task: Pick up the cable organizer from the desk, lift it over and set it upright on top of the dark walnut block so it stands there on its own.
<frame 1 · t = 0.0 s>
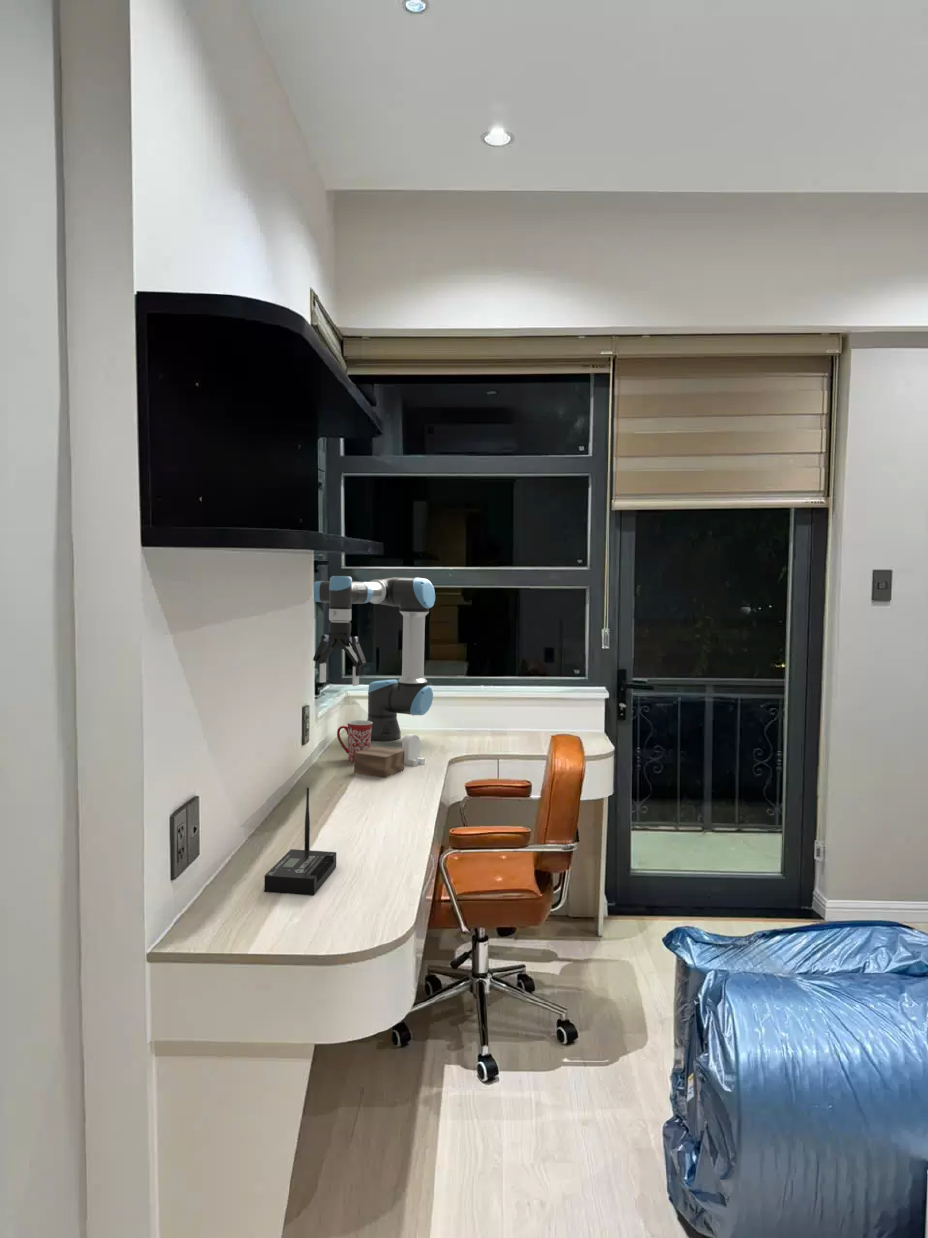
hand: (339, 684, 269), 28 cm above the table, tool pointing down, fingers open, 13 cm apart
cable organizer: (410, 763, 277), on the table
walnut block: (379, 772, 263), on the table
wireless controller: (304, 878, 170), on the table
mug: (354, 760, 279), on the table
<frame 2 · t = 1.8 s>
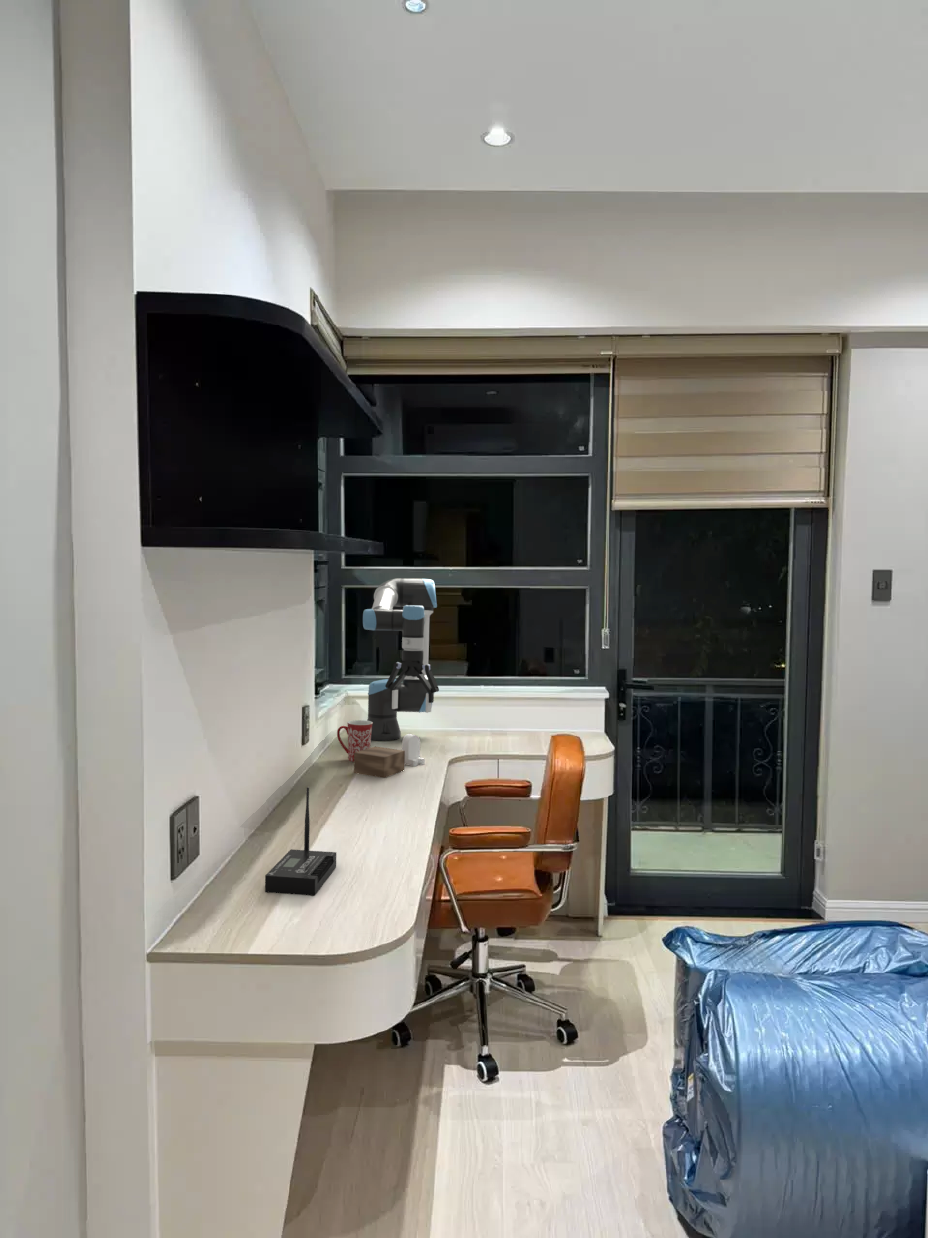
hand: (411, 710, 276), 18 cm above the table, tool pointing down, fingers open, 13 cm apart
nothing on the table moved.
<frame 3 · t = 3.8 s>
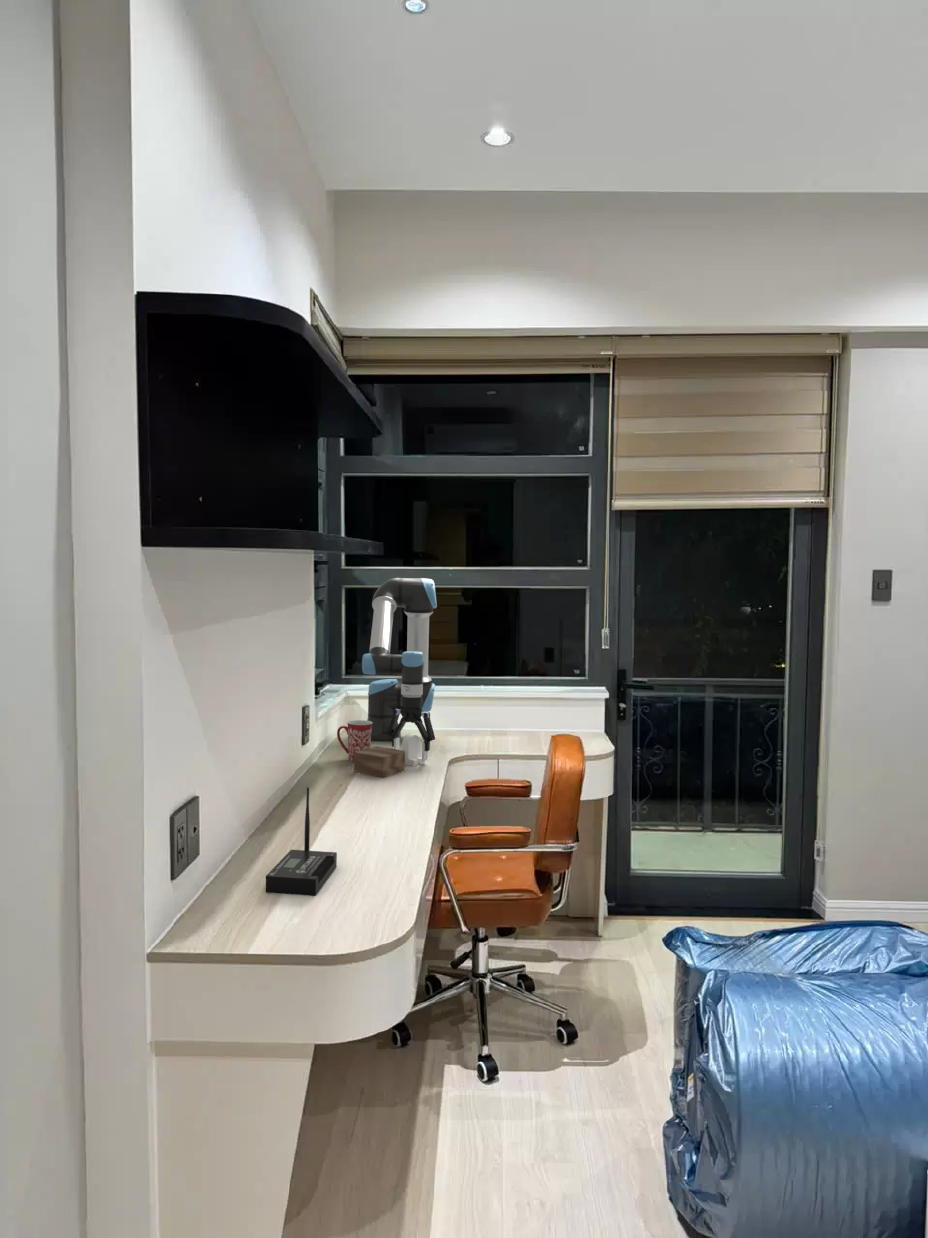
hand: (410, 758, 277), 1 cm above the table, tool pointing down, fingers closed on cable organizer, 11 cm apart
cable organizer: (410, 763, 277), on the table, touching gripper
everything else where it was.
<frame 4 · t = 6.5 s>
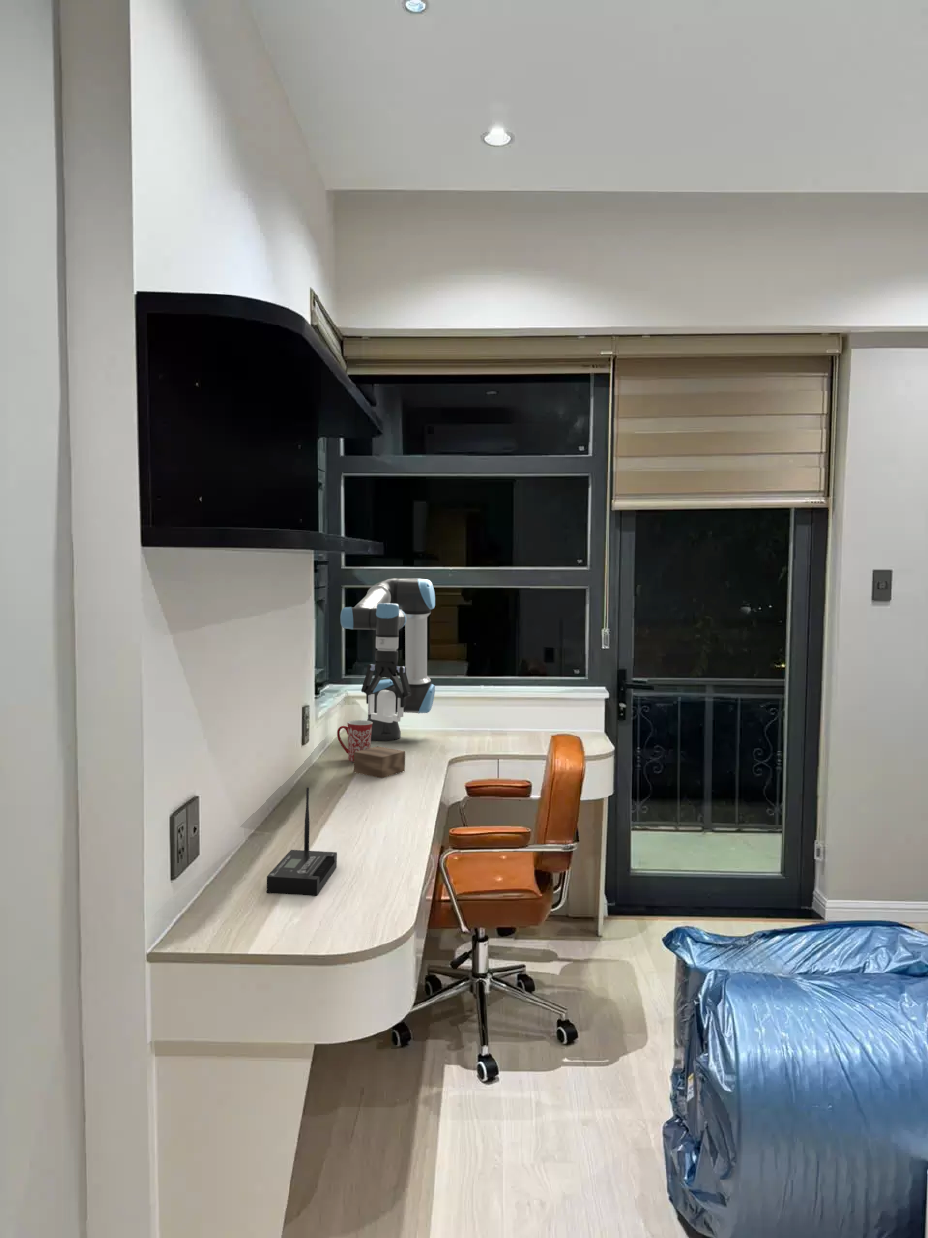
hand: (385, 715, 264), 19 cm above the table, tool pointing down, fingers closed on cable organizer, 11 cm apart
cable organizer: (385, 720, 264), point 17 cm above the table, touching gripper
everything else where it was.
when the fingers open (10 cm above the table, at t = 9.2 s): cable organizer drops 2 cm, resting on walnut block.
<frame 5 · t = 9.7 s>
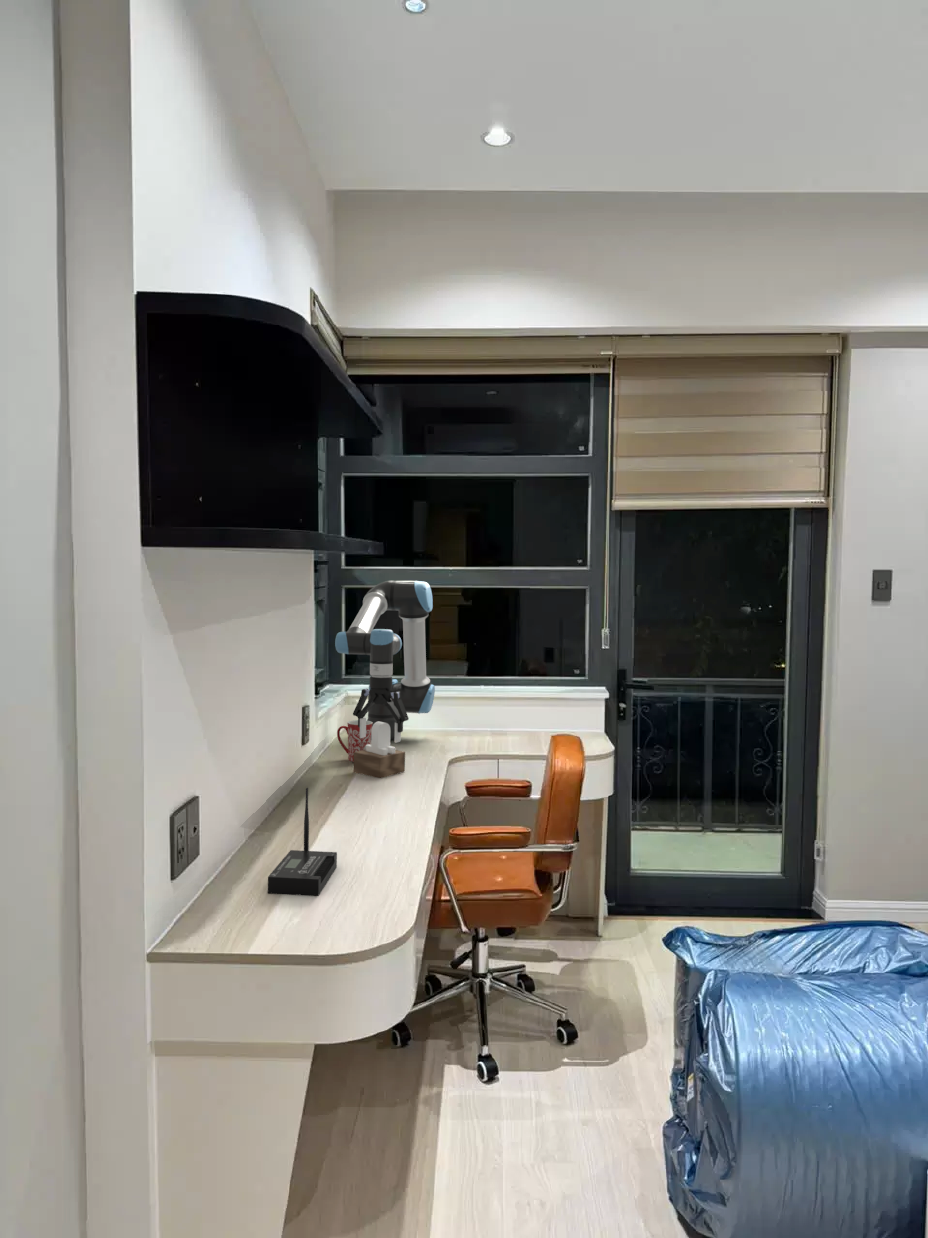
hand: (379, 739, 263), 11 cm above the table, tool pointing down, fingers open, 13 cm apart
cable organizer: (380, 752, 263), point 6 cm above the table, touching walnut block
walnut block: (379, 772, 263), on the table, touching cable organizer
everything else where it was.
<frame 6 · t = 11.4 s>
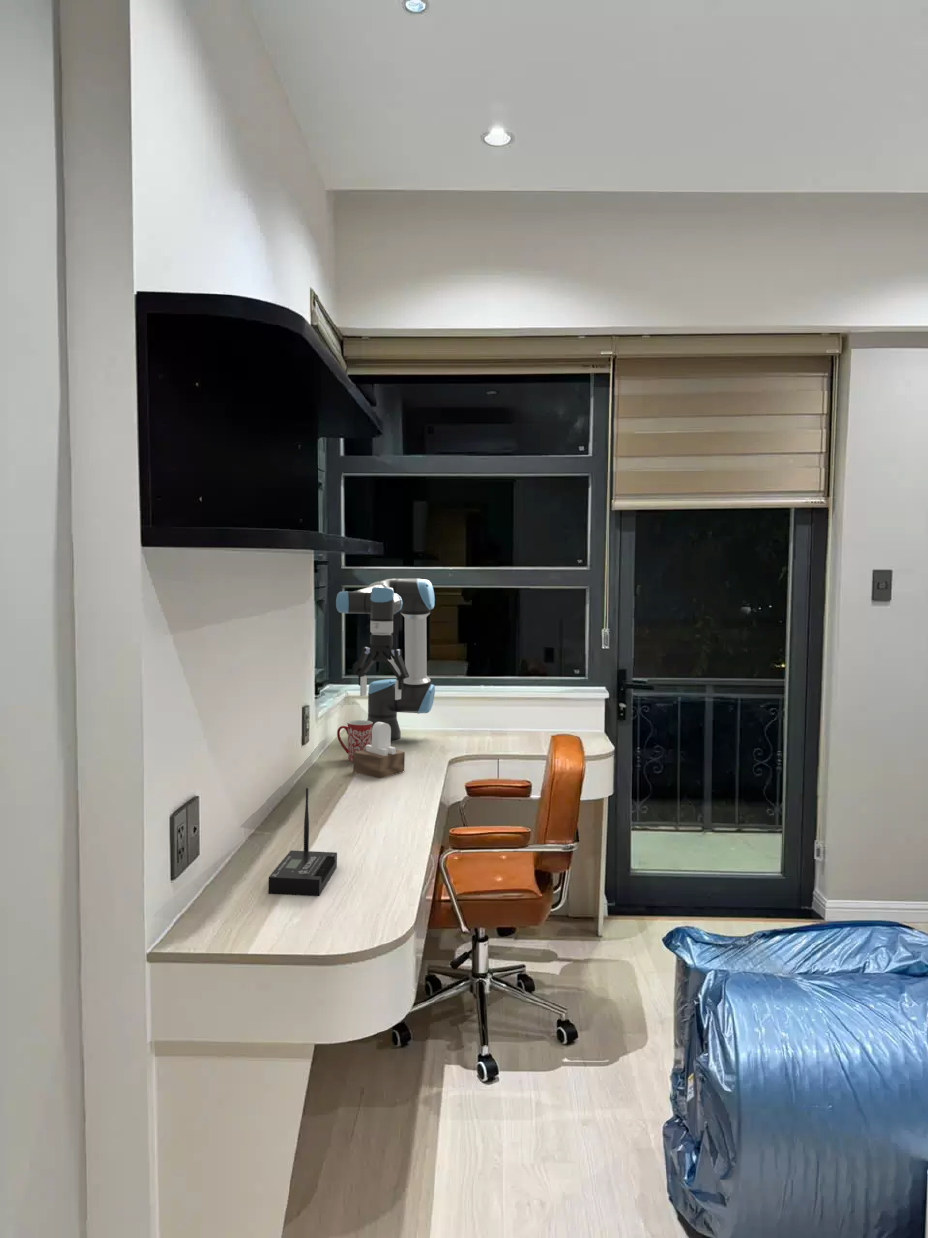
hand: (380, 697, 263), 25 cm above the table, tool pointing down, fingers open, 13 cm apart
nothing on the table moved.
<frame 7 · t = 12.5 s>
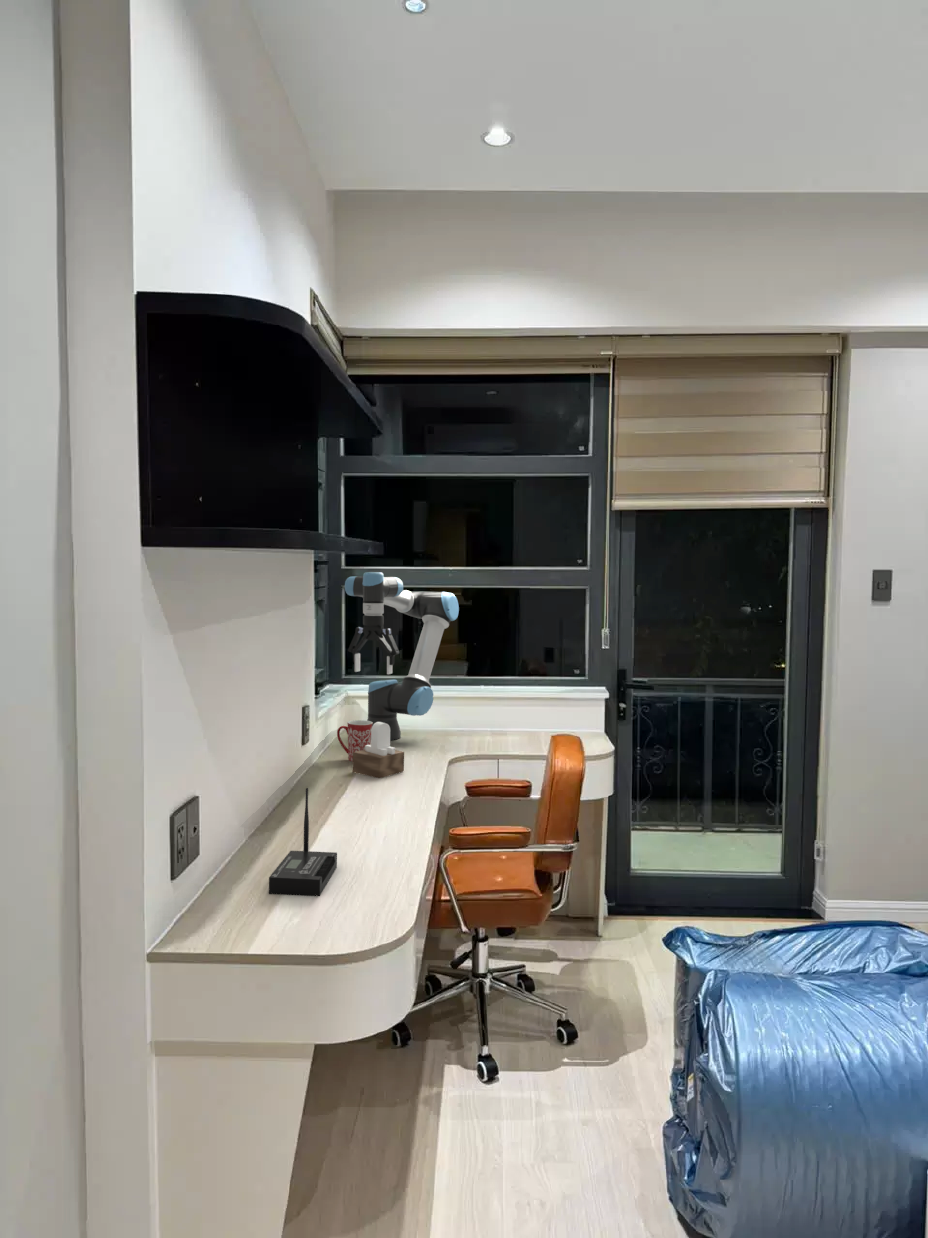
hand: (373, 672, 289), 30 cm above the table, tool pointing down, fingers open, 13 cm apart
nothing on the table moved.
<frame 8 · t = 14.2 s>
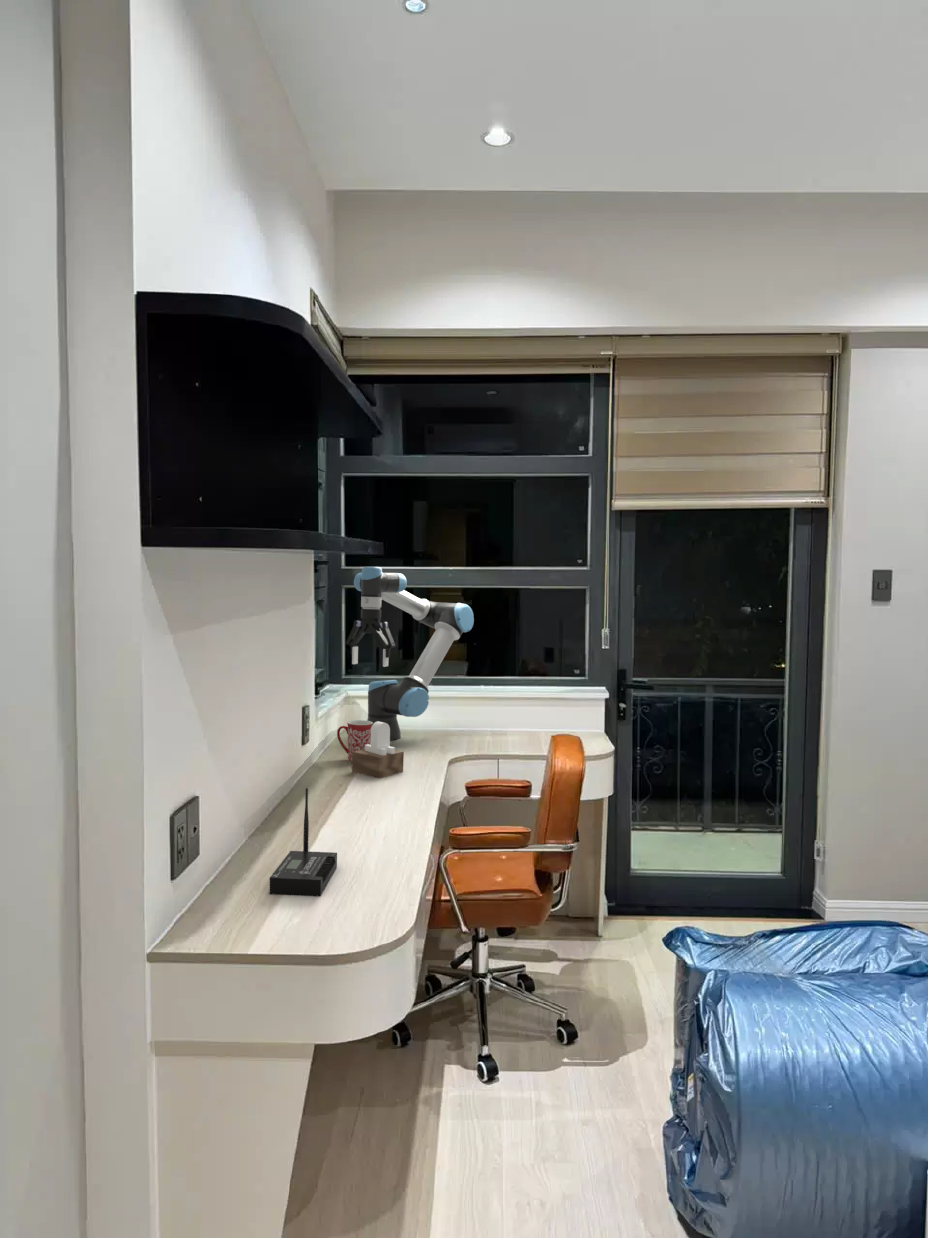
hand: (370, 665, 295), 32 cm above the table, tool pointing down, fingers open, 13 cm apart
nothing on the table moved.
at the end: cable organizer inside the target area on the walnut block (0.6 cm from its centre), point 6.8 cm above the walnut block's base; cable organizer tilted 0°; the gripper is holding nothing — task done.
